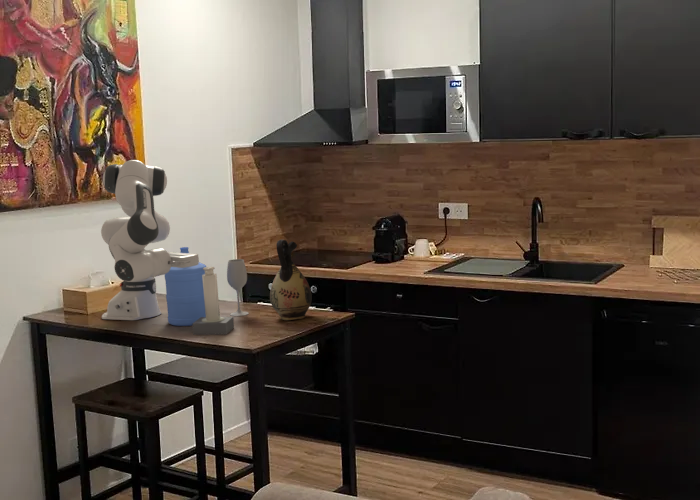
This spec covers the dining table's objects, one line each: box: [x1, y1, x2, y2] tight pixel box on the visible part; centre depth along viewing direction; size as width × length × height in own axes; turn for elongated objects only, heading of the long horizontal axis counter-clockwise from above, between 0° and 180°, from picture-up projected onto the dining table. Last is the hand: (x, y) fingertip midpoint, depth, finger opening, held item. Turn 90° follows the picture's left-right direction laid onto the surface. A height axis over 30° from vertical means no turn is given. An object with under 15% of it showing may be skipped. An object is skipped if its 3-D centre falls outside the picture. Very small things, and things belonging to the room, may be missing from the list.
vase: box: [202, 266, 221, 321], centre depth 314 cm, size 5×5×18 cm
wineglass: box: [226, 258, 249, 317], centre depth 340 cm, size 8×8×21 cm
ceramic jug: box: [269, 239, 313, 321], centre depth 329 cm, size 17×15×30 cm
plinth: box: [192, 316, 235, 335], centre depth 316 cm, size 12×10×4 cm
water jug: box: [164, 246, 207, 327], centre depth 331 cm, size 16×16×28 cm
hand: (185, 255), depth 301 cm, fingers open, 8 cm apart
